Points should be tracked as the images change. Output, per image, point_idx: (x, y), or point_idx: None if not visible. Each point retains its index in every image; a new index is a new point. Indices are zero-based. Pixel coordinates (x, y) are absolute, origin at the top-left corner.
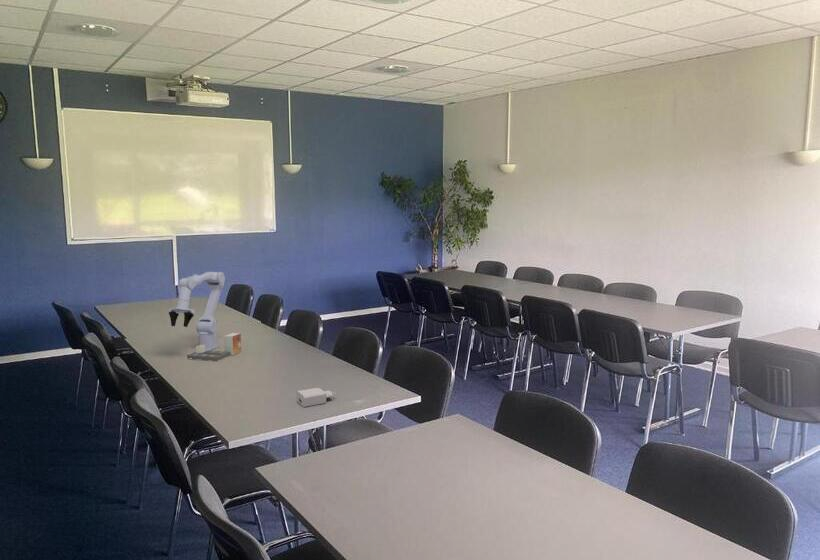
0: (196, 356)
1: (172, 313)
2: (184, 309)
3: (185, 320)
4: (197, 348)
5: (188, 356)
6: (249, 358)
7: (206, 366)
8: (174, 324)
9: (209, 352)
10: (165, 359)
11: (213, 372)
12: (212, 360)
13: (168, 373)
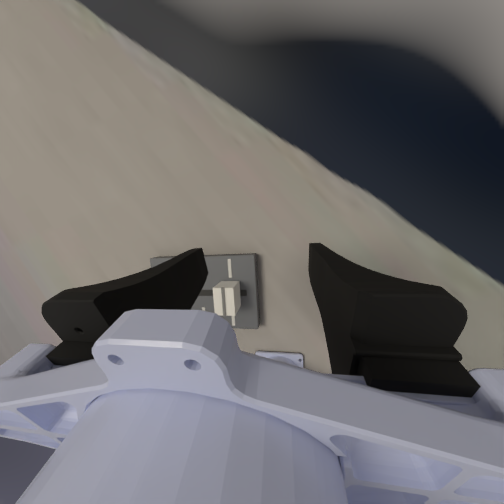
0: (219, 255)
1: (350, 296)
2: (68, 369)
3: (161, 264)
4: (228, 285)
5: (249, 254)
6: None
7: (148, 202)
8: (311, 273)
9: (208, 303)
10: (322, 225)
11: (94, 160)
12: (170, 256)
13: (194, 98)
